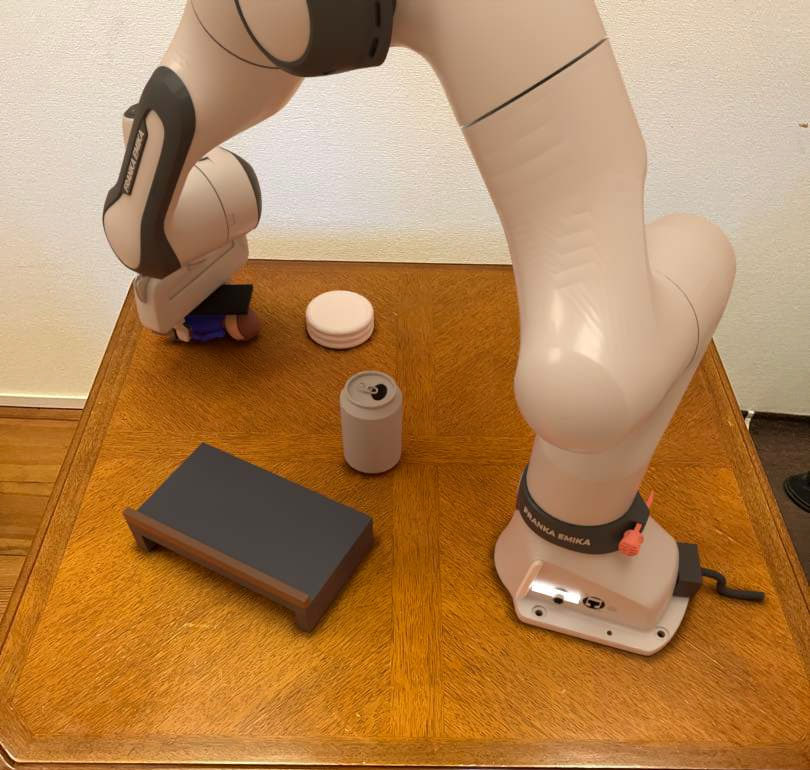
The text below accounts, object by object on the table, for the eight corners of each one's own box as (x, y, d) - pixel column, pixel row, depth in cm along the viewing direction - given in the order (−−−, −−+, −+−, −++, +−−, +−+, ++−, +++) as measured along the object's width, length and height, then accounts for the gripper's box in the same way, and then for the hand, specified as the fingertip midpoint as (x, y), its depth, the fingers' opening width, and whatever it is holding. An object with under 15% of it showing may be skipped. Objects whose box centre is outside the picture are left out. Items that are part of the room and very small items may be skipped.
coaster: (297, 342, 109) (294, 323, 106) (321, 302, 115) (319, 283, 112) (361, 356, 107) (360, 337, 104) (382, 315, 113) (382, 296, 110)
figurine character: (160, 357, 109) (259, 350, 107) (140, 314, 102) (245, 306, 101) (169, 328, 112) (265, 321, 111) (150, 285, 106) (252, 277, 105)
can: (394, 482, 93) (395, 413, 84) (337, 472, 94) (331, 403, 84) (406, 440, 98) (408, 370, 88) (351, 431, 99) (347, 361, 89)
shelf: (373, 542, 88) (372, 508, 83) (310, 633, 81) (304, 602, 75) (210, 468, 94) (199, 432, 89) (138, 546, 87) (121, 512, 82)
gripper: (151, 282, 90) (177, 370, 101) (249, 203, 100) (263, 290, 112) (111, 267, 91) (141, 355, 103) (211, 191, 102) (229, 278, 113)
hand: (205, 321), depth 107 cm, fingers closed on figurine character, 7 cm apart
